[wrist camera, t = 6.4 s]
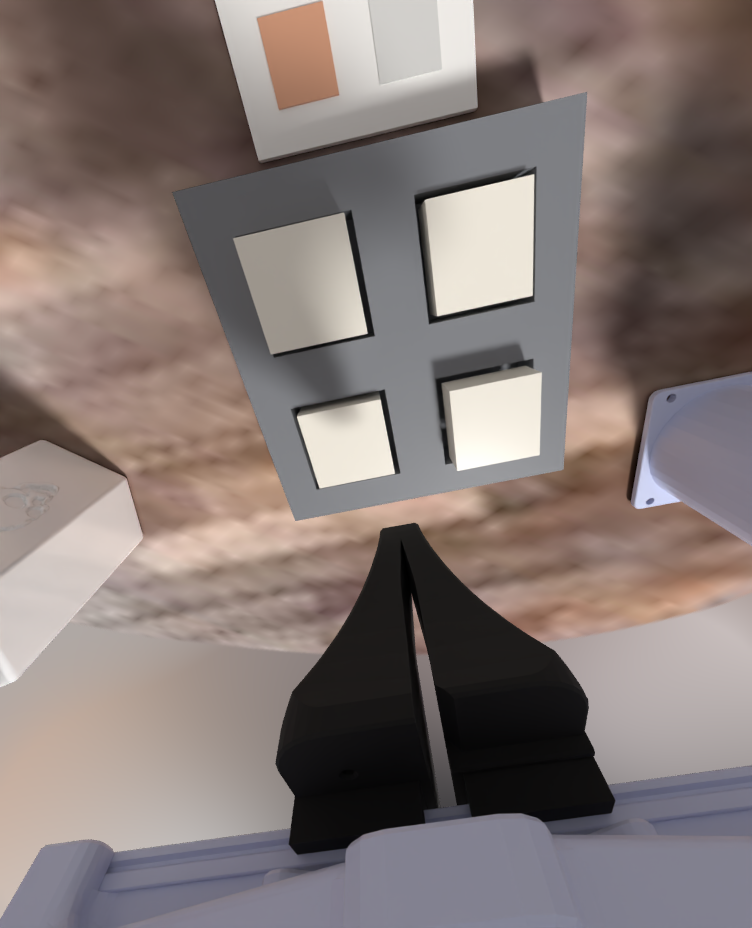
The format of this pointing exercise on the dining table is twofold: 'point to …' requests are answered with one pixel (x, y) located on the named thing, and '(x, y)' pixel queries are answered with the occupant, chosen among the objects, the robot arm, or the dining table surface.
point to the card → (347, 68)
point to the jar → (55, 544)
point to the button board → (403, 295)
